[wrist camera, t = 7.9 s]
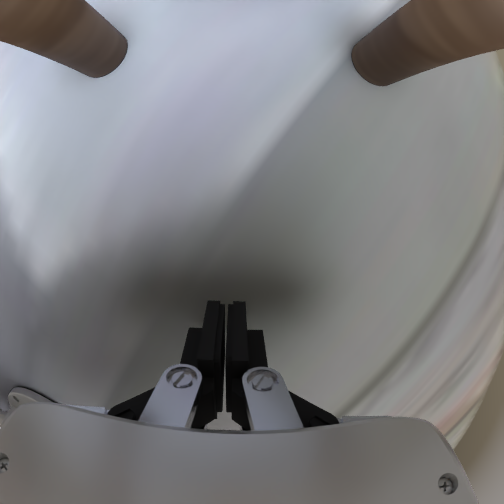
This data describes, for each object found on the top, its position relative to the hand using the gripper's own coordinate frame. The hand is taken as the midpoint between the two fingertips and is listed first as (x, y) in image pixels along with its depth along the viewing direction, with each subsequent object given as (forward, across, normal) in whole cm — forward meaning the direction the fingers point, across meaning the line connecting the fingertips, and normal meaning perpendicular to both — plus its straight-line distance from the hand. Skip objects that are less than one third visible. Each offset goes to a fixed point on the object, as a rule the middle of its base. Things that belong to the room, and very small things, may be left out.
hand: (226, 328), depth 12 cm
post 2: (+2, -6, -13) cm, 15 cm away
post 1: (+2, +6, -13) cm, 15 cm away
